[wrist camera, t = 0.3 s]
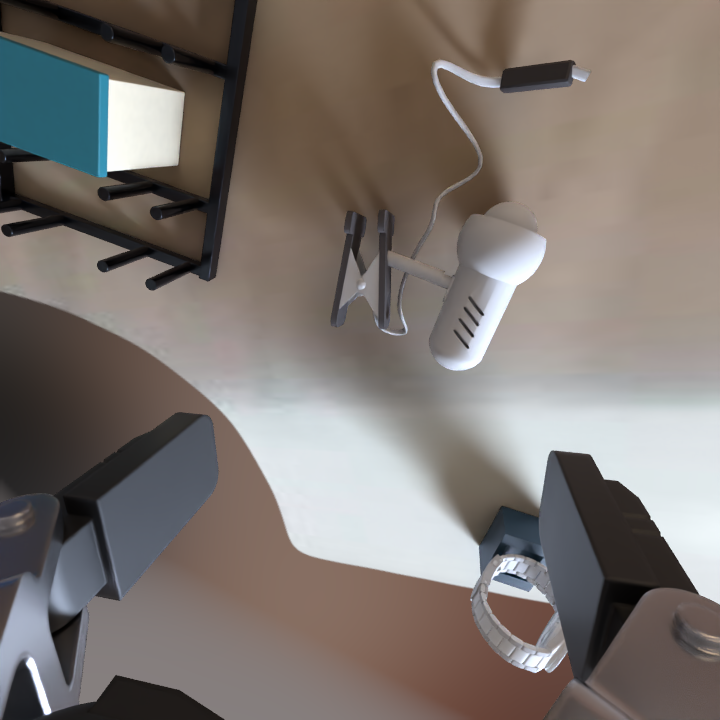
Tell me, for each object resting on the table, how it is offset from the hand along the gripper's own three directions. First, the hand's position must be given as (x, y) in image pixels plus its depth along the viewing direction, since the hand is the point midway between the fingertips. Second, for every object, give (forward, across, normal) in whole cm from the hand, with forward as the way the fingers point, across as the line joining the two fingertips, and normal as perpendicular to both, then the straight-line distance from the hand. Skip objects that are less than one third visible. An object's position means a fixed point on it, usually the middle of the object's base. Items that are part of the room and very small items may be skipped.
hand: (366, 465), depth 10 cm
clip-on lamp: (+22, -1, -6) cm, 23 cm away
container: (+21, +22, -12) cm, 33 cm away
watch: (+26, -9, +22) cm, 35 cm away
